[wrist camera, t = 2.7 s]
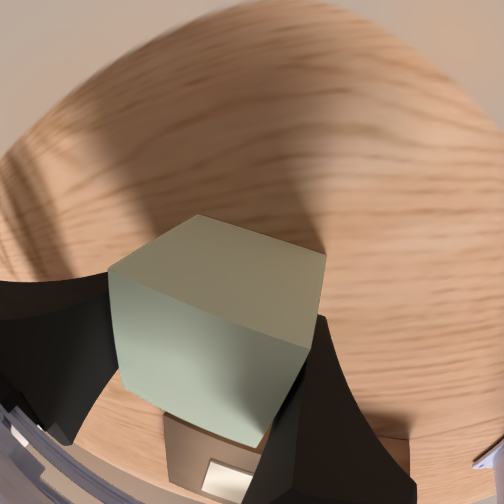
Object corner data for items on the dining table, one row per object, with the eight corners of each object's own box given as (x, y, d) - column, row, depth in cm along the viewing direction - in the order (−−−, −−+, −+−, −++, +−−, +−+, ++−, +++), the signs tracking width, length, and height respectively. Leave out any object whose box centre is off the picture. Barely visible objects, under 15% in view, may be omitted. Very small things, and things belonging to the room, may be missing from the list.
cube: (326, 255, 10) (310, 349, 5) (287, 354, 12) (255, 448, 8) (198, 214, 11) (107, 268, 6) (185, 315, 13) (122, 387, 8)
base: (409, 440, 12) (409, 483, 9) (321, 500, 18) (314, 527, 15) (188, 377, 15) (161, 417, 12) (182, 458, 21) (168, 483, 18)
